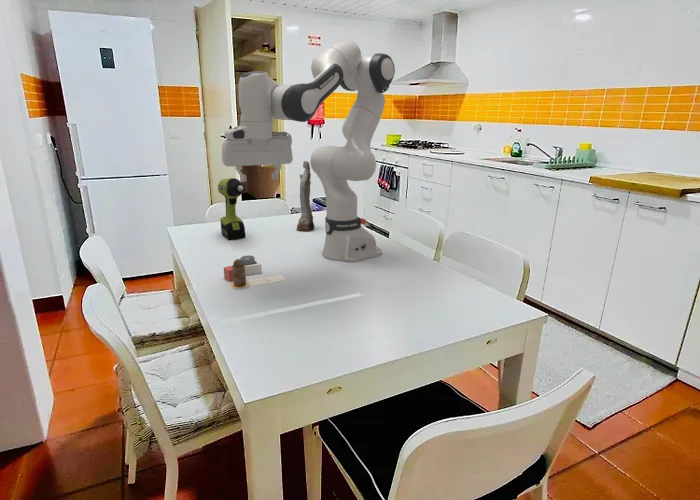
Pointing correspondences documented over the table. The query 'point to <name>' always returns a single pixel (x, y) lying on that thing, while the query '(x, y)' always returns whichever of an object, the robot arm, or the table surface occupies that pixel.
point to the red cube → (228, 273)
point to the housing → (253, 268)
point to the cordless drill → (231, 209)
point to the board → (261, 281)
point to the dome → (248, 260)
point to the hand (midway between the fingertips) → (259, 180)
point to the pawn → (239, 273)
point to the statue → (305, 201)
